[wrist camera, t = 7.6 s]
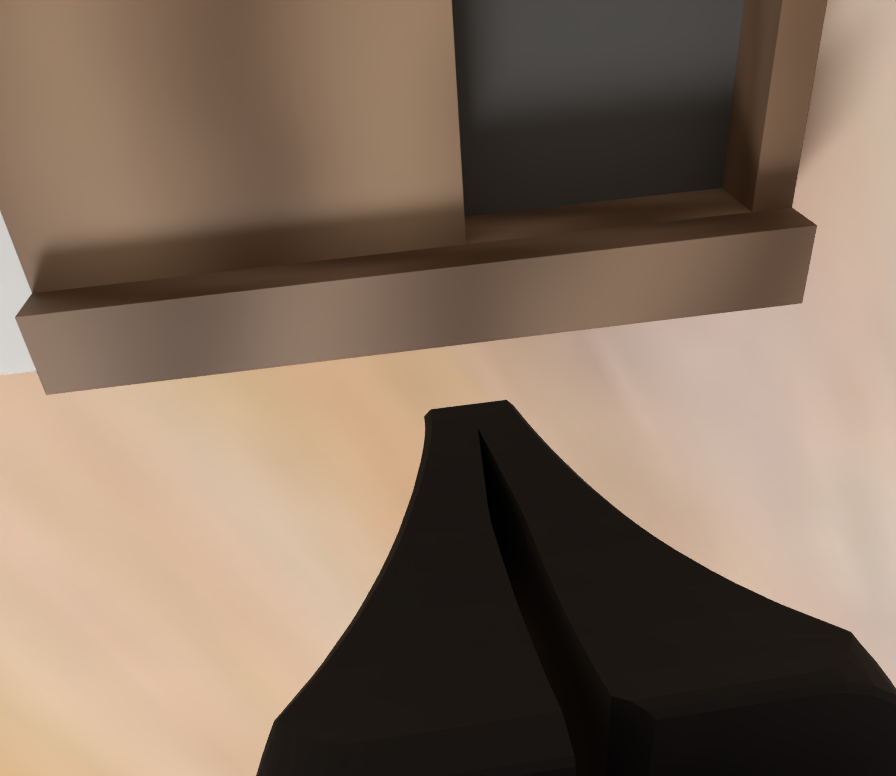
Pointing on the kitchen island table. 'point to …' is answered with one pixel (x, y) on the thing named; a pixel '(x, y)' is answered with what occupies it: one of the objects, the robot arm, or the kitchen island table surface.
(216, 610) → the kitchen island table surface
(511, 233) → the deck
